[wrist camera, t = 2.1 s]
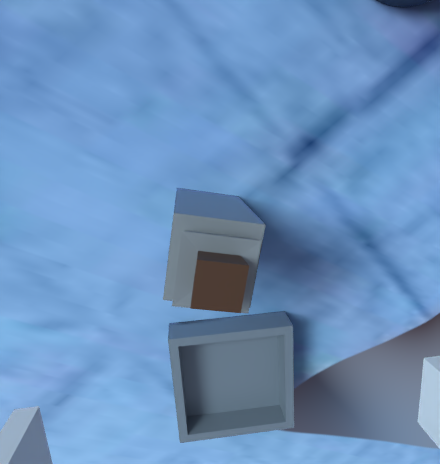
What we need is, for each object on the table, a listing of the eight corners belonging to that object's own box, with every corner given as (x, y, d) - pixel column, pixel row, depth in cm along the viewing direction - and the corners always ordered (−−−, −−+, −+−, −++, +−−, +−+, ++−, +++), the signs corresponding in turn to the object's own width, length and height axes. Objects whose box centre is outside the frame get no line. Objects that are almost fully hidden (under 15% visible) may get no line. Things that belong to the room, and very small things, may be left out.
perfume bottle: (228, 254, 41) (262, 339, 23) (169, 247, 40) (159, 331, 22) (238, 196, 39) (282, 241, 22) (177, 187, 38) (171, 228, 21)
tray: (284, 311, 43) (292, 325, 40) (286, 406, 47) (294, 427, 43) (169, 323, 42) (168, 339, 39) (180, 420, 46) (180, 442, 42)
